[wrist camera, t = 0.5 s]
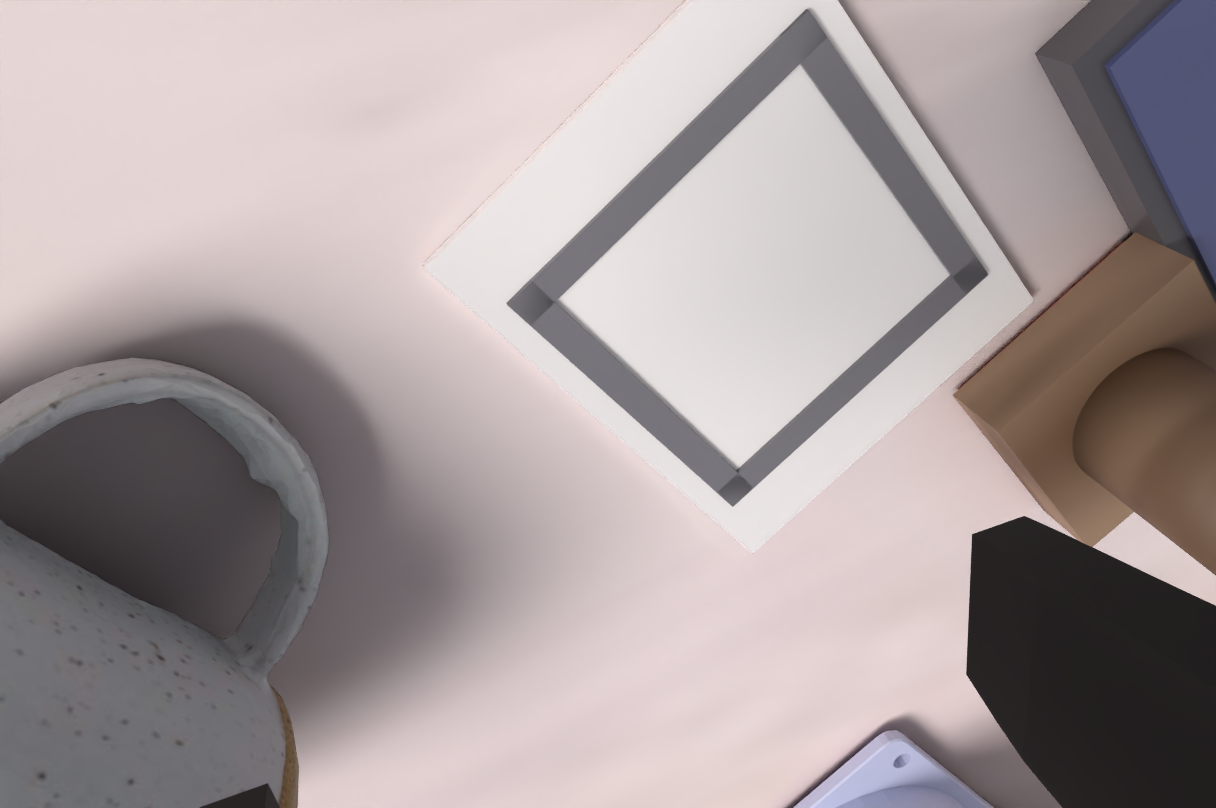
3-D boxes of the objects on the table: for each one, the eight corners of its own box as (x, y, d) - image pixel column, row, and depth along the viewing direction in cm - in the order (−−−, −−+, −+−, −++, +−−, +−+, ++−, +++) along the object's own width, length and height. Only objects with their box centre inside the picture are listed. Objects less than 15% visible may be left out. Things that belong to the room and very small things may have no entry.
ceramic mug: (81, 843, 21) (29, 1278, 15) (-389, 694, 17) (-746, 1225, 11) (426, 480, 20) (529, 791, 14) (13, 211, 15) (-120, 488, 9)
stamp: (1198, 363, 25) (1440, 504, 20) (1035, 503, 26) (1231, 673, 21) (1125, 227, 22) (1384, 351, 17) (945, 388, 23) (1144, 553, 18)
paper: (1027, 296, 22) (1037, 302, 22) (748, 548, 23) (754, 556, 23) (774, -89, 17) (783, -87, 16) (421, 264, 18) (425, 271, 17)
